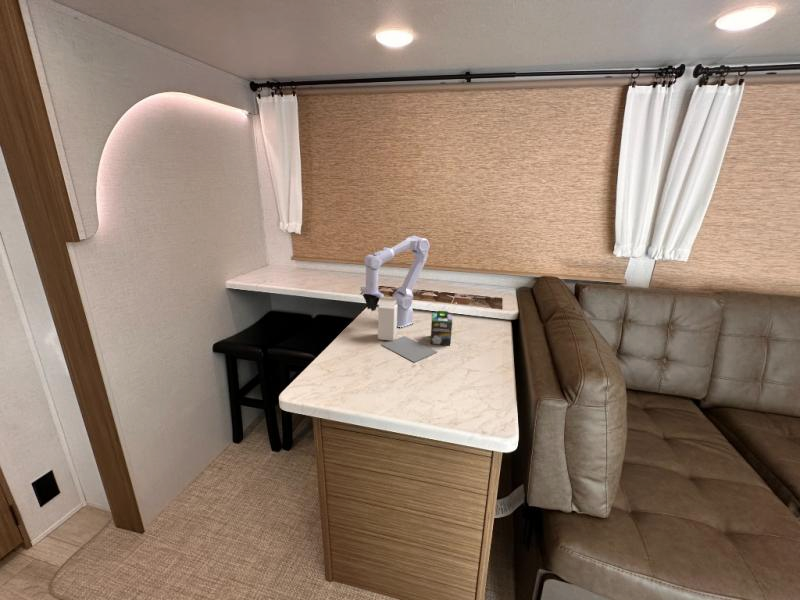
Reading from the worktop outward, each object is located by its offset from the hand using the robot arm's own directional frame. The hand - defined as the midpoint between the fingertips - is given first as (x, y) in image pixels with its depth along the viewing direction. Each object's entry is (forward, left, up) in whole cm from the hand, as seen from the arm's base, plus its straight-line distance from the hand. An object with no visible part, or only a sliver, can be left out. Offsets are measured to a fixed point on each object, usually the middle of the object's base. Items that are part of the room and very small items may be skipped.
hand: (371, 309), depth 164 cm
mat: (0, +26, -10) cm, 28 cm away
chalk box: (-17, +29, -11) cm, 35 cm away
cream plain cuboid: (0, +12, -10) cm, 16 cm away
